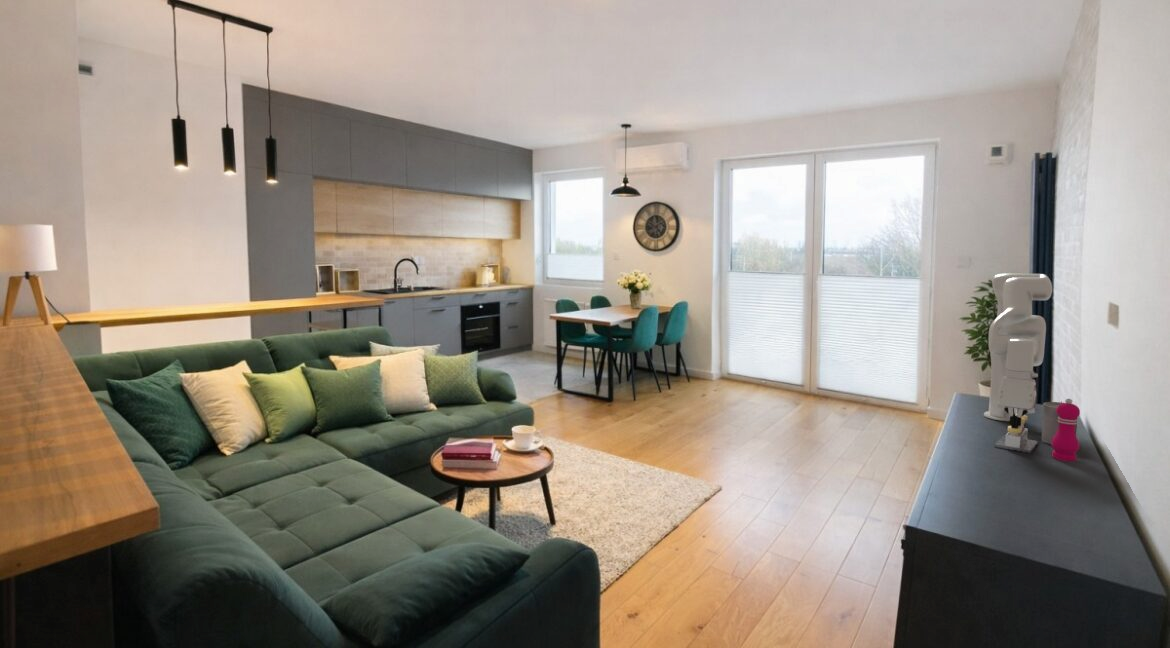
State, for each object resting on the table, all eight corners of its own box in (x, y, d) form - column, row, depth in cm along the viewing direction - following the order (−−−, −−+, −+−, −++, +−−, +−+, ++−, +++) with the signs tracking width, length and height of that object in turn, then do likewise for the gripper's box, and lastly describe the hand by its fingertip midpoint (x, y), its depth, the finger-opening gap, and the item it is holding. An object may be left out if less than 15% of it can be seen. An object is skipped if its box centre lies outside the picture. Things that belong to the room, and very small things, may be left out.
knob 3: (1011, 431, 216) (1012, 415, 215) (1024, 433, 213) (1026, 418, 212) (1008, 433, 213) (1009, 418, 212) (1022, 436, 210) (1023, 420, 210)
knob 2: (1013, 428, 219) (1014, 413, 218) (1027, 430, 216) (1028, 415, 216) (1011, 431, 216) (1012, 415, 216) (1025, 433, 213) (1026, 417, 213)
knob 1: (1007, 440, 213) (1009, 425, 212) (1021, 443, 210) (1023, 427, 209) (1005, 443, 210) (1006, 427, 209) (1019, 445, 207) (1020, 429, 207)
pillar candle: (1076, 442, 216) (1079, 400, 215) (1074, 448, 209) (1076, 405, 208) (1042, 437, 223) (1045, 396, 221) (1039, 443, 216) (1041, 401, 214)
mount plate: (1003, 438, 222) (1004, 424, 221) (1037, 443, 215) (1038, 430, 214) (994, 446, 212) (995, 433, 211) (1029, 453, 205) (1030, 438, 204)
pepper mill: (1068, 455, 203) (1073, 396, 201) (1083, 462, 196) (1089, 401, 194) (1045, 454, 204) (1049, 396, 201) (1059, 461, 197) (1064, 401, 194)
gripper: (1047, 376, 205) (1043, 429, 207) (995, 370, 215) (991, 421, 217) (1044, 379, 199) (1039, 434, 201) (990, 373, 210) (986, 425, 212)
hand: (1014, 427), depth 209 cm, fingers closed
